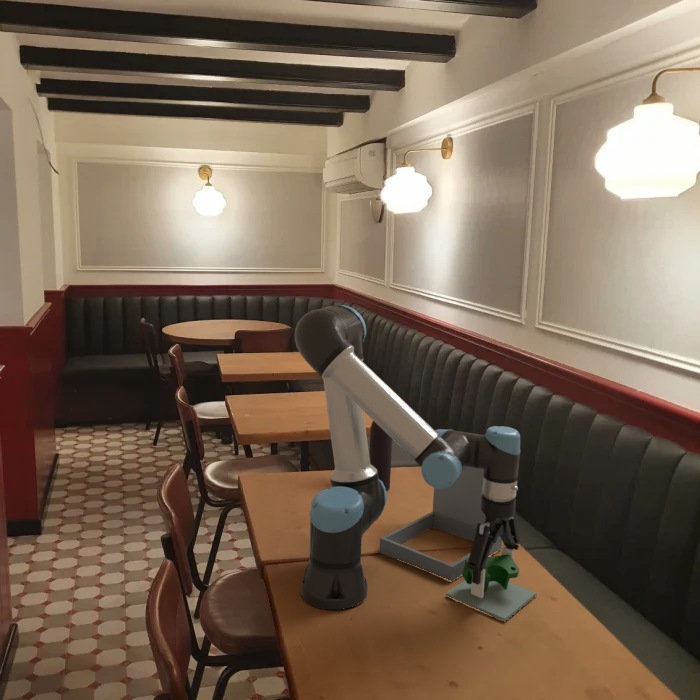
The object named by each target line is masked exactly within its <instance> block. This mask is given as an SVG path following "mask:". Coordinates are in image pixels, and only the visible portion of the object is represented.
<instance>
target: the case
mask: <svg viewBox="0 0 700 700" xmlns="http://www.w3.org/2000/svg"><path fill="white" fill-rule="evenodd" d="M483 473H484V469H482V468H474V467H467V466H466V467H465V468H464V469H463V471H462V473H461V475H460V477H459V479H458V480H457V481H455V482H454V483H453V484H452V485H451V486H449V487H447V488H444V489H438V488H434V487H433V496H432V497H433V498H432V499H433V501H432V511H431V512H428V513H427V514H425V515H423V516H420V517H419V518H417V519H415V520H413V521H412V522H409V523H407V524H405V525H404V526H401V527H400V528H397V529H395V530H393V531H391V532H390V533H387V534H386V535H383V536H382V537H380V538H379V552H378V553H380V554H381V555H384V556H386V555H387V556H386V557H389V556H391V557H394V558H396V559H399V560H401V561H404V562H406V563H409V564H411V565H414V566H417V567H419V568H421V569H424V570H426V571H428V572H431V573H434V574H436V575H438V576H441V577H443V578H446V579H448V580H451V581H453V580H454V579H456V578H457V577H459V576H460V575H461V574H463V569H464V565H465V560H466V559H469V557H470V553H471V552H469V553H467V554H466V555H464V556H463V557H461V558H459V559H458V560H456V561H455V562H453V563H449V562H446V561H444V560H441V559H438V558H436V557H434V556H431V555H429V554H426V553H423V552H421V551H419V550H417V549H414V548H411V547H409V546H406V545H404V543H406V542H408V541H410V540H411V539H414V538H415V537H417V536H418V535H420V534H423V533H425V532H426V531H428V530H430V529H433V528H434V529H436V530H437V529H438V530H439V531H440V530H441V531H443V532H444V533H448V534H451V535H453V536H456V537H459V538H461V539H464V540H467V541H470V542H472V543H474V539H475V536H476V530H477V524H478V523H480V524H484V522H485V519H486V516H485V514H484V513H483V512H482V511H481V499H482V495H483V493H482V485H483ZM489 537H491V536H489ZM502 544H503V541H502V539H501V537H500V536H499V537H498V539H497V541H496V543H493V545H492V548H491V551H490V553H489V555H491V554H493V553H494V552H496V551H498V550H499V549H501V550H502V547H503V546H502ZM391 557H390V558H391ZM396 559H395V560H396ZM401 561H400V562H401Z"/></svg>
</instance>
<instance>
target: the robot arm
mask: <svg viewBox="0 0 700 700" xmlns="http://www.w3.org/2000/svg"><path fill="white" fill-rule="evenodd" d="M366 336H367V327H366V323H365V320H364V318H363V317H362V315H361V313H359V312H358V311H357V310H356V309H354V308H353V307H351V306H348V305H344V304H336V305H335V304H333V305H329V306H325V307H322V308H318V309H313V310H312V309H311V311H308V312H307V313H305V314H304V315H303V316H302V317H301V318H300V319H299V320H298V322H297V324H296V326H295V330H294V342H295V345H296V349H297V350H298V352H299V354H300V355H301V357H302V358H303V360H304V361H305V362H306V363H307V364H308V365H309V366H310V367H311V368H312V370H314V371H315V372H316V373H317V374H318V375H319V376H320V377H321V378H322V379H323V388H324V395H325V402H326V407H327V416H328V425H329V431H330V439H331V447H332V454H333V462H334V469H333V471H332V473H330V475H329V480H330V487H329V488H324V489H321V490H320V491H318V492H317V493H316V494H315V495H314V497H312V500H311V505H310V510H309V527H310V528H309V559H308V563H307V565H306V568H305V572H304V574H303V577H302V578H301V583H300V595H301V597H302V598H303V600H304V601H305V602H306V603H307V604H309V605H310V604H311V605H310V606H312V605H313V606H312V607H315V608H318V607H319V609H321V608H324V609H323V610H326V609H343V608H349V607H352V606H355V605H357V604H358V603H360V602H362V601H363V600H364V599H365V598H366V599H367V597H366V596H368V582H367V579H366V577H365V575H364V570H363V565H362V562H361V561H362V560H361V559H362V541H363V540H362V538H363V536H364V535H365V533H366V532H367V531H368V530H369V528H370V527H371V526H373V524H374V523H375V522H376V521H377V520H378V519H379V517H381V515H382V514H383V512H384V509H385V507H386V504H387V500H388V495H387V491H386V489H385V486H384V484H383V482H382V481H380V480H379V478H378V472H377V469H376V468H375V467H374V466H372V465H371V464H370V458H369V450H370V449H369V444H368V443H369V442H368V437H367V436H368V435H367V429H366V421H365V414H366V415H367V416H368V417H369V418H370V419H371V420H372V422H373V421H374V422H375V423H376V424H377V425H379V426H380V427H381V428H382V429H383V430H384V431H385V432H386V433H387V434H388V435H389V436H390V437H391V438H392V441H394V442H395V443H396V444H397V445H398V446H399V447H400V448H401V449H402V450H403V451H404V452H405V453H406V454H408V456H409V457H411V459H412V460H414V462H416V464H418V466H419V467H421V469H420V471H421V475H422V478H423V480H424V482H426V483H427V484H428V485H429V486H430V487H432V488H433V489H434V488H438V489H444V488H447V487H449V486H451V485H452V484H453V483H454V482H455V481H457V480H458V479H459V477H460V475H461V473H462V471H463V469H464V468H465V467H466V466H467V467H474V468H482V469H484V473H483V485H482V493H483V495H482V499H481V511H482V512H483V513H484V514H485V516H486V519H485V522H484V524H480V523H478V524H477V530H476V536H475V539H474V542H472V543H473V544H472V545H471V546H472V547H471V550H470V552H469V553H470V557H469V560H468V564H467V568H470V569H472V570H473V573H472V586H471V594H473V595H475V596H477V597H480V598H483V595H484V582H485V569H483V568H484V566H485V563H486V561H487V558H488V556H489V553H490V551H491V548H492V545H493V543H496V541H497V539H498V537H499V536H500V537H501V539H502V544H503V545H504V546H501V555H510V556H511V558H512V559H513V560H514V555H515V553H514V552H515V550H516V551H518V550H519V549H520V546H519V543H520V541H521V540H520V533H519V528H518V524H517V510H516V506H517V505H516V504H517V502H516V501H517V500H516V497H517V491H518V490H519V487H518V479H519V478H518V476H519V467H520V459H521V458H520V457H521V434H520V432H519V431H518V430H517V429H515V428H514V427H513V428H512V427H510V426H505V425H504V426H503V425H500V426H498V425H493V426H490V427H488V428H487V430H486V433H485V434H478V433H472V432H467V431H465V432H464V431H459V430H454V429H444V428H443V429H441V428H440V429H439V428H438V429H433V427H432V426H431V425H430V424H429V423H427V422H426V421H425V420H424V419H423V418H422V417H421V416H420V415H419V414H418V413H417V412H416V411H415V410H414V408H412V407H411V406H410V405H409V404H408V403H407V402H405V400H403V398H401V397H400V396H399V395H398V394H397V393H396V392H395V391H394V390H393V389H392V388H391V387H390V386H389V385H388V384H387V383H386V382H385V381H383V380H382V379H381V378H380V377H379V376H378V375H377V373H375V372H374V370H372V369H371V368H370V367H369V366H367V364H366V363H365V362H364V352H363V343H364V341H365V338H366ZM489 536H491V537H489ZM366 599H365V600H366ZM365 600H364V601H365ZM364 601H363V602H364ZM363 602H362V603H363ZM357 606H358V605H357ZM355 607H356V606H355ZM349 609H350V608H349Z"/></svg>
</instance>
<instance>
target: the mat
mask: <svg viewBox="0 0 700 700" xmlns="http://www.w3.org/2000/svg"><path fill="white" fill-rule="evenodd" d="M471 586H472V584H468V583H467V582H466V581H465V580H463V581H462V582H460V583H458V584H457V585H455V586H454V587H453V588H451V589H449V590H448V591H447V592H445V596H446V595H447V596H449V597H451V598H454V599H456V600H458V601H461V602H462V603H465V604H467V605H469V606H471V607H474V608H476V609H479V610H480V611H483V612H485V613H487V614H489V615H491V616H493V617H496V618H498V619H500V620H503V621H506V620H507V619H509V618H510V617H511V616H512V615H513V614H515V613H516V612H517V611H518V610H520V609H521V608H522V607H523V606H524V605H526V604H527V603H528V602H529V601H530V600H531V599H533V598H534V597H535V596H536V597H537V592H536V591H533V590H530V589H528V588H527V587H523V586H520V585H518V584H516V583H513V582H510V581H509V582H508V586H507V589H506V590H504V587H503V586H502V585H501V584H499V583H498V582H495V581H491V582H489V585H488V589H487V592H484V595H483V598H480V597H477V596H475V595H473V594H471ZM536 597H535V598H536ZM535 598H534V599H535ZM534 599H533V600H534ZM529 603H530V602H529ZM529 603H528V604H529ZM528 604H527V605H528ZM527 605H526V606H527ZM523 608H524V607H523ZM523 608H522V609H523ZM522 609H521V610H522ZM521 610H520V611H521ZM517 613H518V612H517ZM517 613H516V614H517ZM516 614H515V615H516ZM511 618H512V617H511ZM511 618H510V619H511ZM510 619H509V620H510Z"/></svg>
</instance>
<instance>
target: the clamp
mask: <svg viewBox="0 0 700 700" xmlns="http://www.w3.org/2000/svg"><path fill="white" fill-rule="evenodd" d="M468 560H469V559H466V560H465V565H464V569H463V574H462V575H463V576H462V577H463V578H464V581H466V582H467V583H468V584H472V573H473V570H472V569H470V568H467V564H468ZM483 569H485V582H484V592H487V589H488V585H489V582H491V581H495V582H498V583H499V584H501V585H502V586H503V587H504V590H506V589H507V586H508V582H510V579H515V578H518V577H519V574H520V567H519V566H518V565H517V564H516V562H515V561H514V558H513V559H512V558H511V556H510V555H493V556H491V557H488V558H487V561H486V563H485V566H484V568H483Z"/></svg>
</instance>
